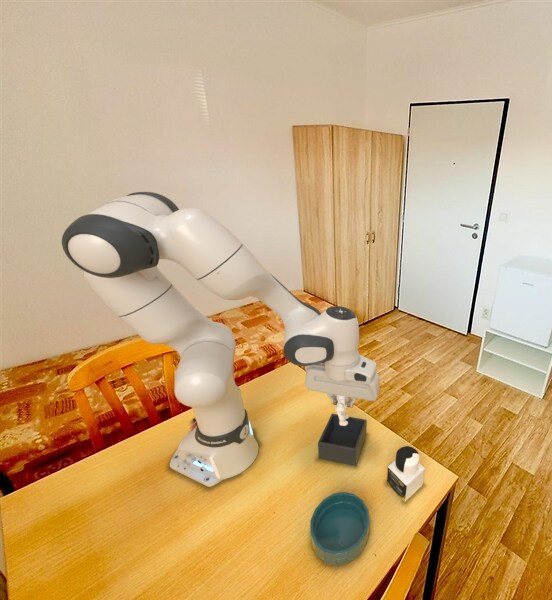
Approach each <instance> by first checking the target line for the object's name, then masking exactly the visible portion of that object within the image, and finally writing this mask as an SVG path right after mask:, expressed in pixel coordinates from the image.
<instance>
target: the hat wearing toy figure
mask: <svg viewBox="0 0 552 600" xmlns="http://www.w3.org/2000/svg"><path fill="white" fill-rule="evenodd" d="M335 396H337V401H338V402H337V405H335V406H334V407H335V409H334V412H336V414H338V416H339V420H340V421H339V425H341V426H346V425H347V424H348V421H346V420H345V419H348V418H349V417H350V415H349V414H347V413H348V411H347V402H348V400H349V399H350V398H349V397H346V396H340V395H335Z"/></svg>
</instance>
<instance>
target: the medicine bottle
mask: <svg viewBox="0 0 552 600" xmlns="http://www.w3.org/2000/svg"><path fill="white" fill-rule="evenodd" d="M425 472H426V467H424V466H423V465H422V464H421V463H420V454H419V452H418V450H417V449H416V448H414V447H412V446H410V445H405V446H401V447H400V448H399V449H398V450H397V451H396V453H395V460H393V461H392V462H391V463H389V464H388V466H387V475H386V484H387V485H388V486H389V487H390V488H391V489H392V491H393V492H394V493H395V494H396V495H397V496H398V497H399V498H400V499H401V500H402V501H403V502H404V503H406V502H407V501H408V500H409V499H410V498H411V497H412V496H413V495H414V494H415V493H416V492H417V491H418V490H419V489H420V488H422V486H423V484H424V478H425Z"/></svg>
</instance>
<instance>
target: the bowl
mask: <svg viewBox="0 0 552 600" xmlns="http://www.w3.org/2000/svg"><path fill="white" fill-rule="evenodd" d="M370 522H371V519H370V512H369V508H368V506H367V505H366V503H365V501H364V500H363V499H362V498H361V497H359V496H358V495H357V494H355V493H351V492H348V491H347V492H346V491H341V492H334V493H332V494H330V495H328V496H327V497H325V498H323V499H322V501H321V502H320V503H319V504H317V506H316V507H315V508H314V510H313V513H312V516H311V518H310V526H309V527H310V528H309V533H310V541H311V542H310V544H311V547H312V549H313V551H314V555H315V556H316V557H317V558H318V559H319V560H321V561H322V562H323V563H324V564H327V565H331V566H337V567H338V566H342V565H346V564H349V563H351V562H352V561H353V560H355V559H357V558H358V557H359V556H360V555H361V553H362V552H363V550H364V549H365V548H366V546H367V543H368V539H369V534H370V525H371V523H370Z"/></svg>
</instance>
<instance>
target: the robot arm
mask: <svg viewBox="0 0 552 600" xmlns="http://www.w3.org/2000/svg"><path fill="white" fill-rule="evenodd" d="M61 246H62V250H63V252H64V254H65V255H66V257H67V258H68V260H70V261H71V263H72V264H73V265H75V266H76V267H77V268H78V269H80V270H82V271H83V278H84V279H85V281H86V282H87V284H88V285H89V286H90V288H91V289H92V290H93V292H94V293H95V294H96V296H97V297H98V298H99V299H100V300H101V301H102V302H103V304H105V305H106V306H107V307H108V309H110V311H112V312H113V314H114V315H116V316H117V317H118V318H119V319H120V320H122V322H123V323H125V324H126V325H127V326H128V327H129V328H130V329H131V330H132V331H134V332H135V333H136V334H137V335H138V336H139V337H140V338H141V339H143V340H144V341H145V342H146V343H148V344H151V345H165V346H167V347H169V348H171V349H173V350H174V351H175V352H176V353H177V354H178V355H179V358H180V359H179V363H178V365H177V368H176V370H175V373H174V382H173V383H174V384H173V386H174V387H173V390H174V391H173V392H174V396H175V398H176V400H177V401H178V402H179V403H181V404H182V405H184V406H186V407H190V408H191V410H192V411H193V415H194V417H195V418H192V422H193V424H192V425H191V426H190V427H189V431H188V432H187V433H186V434H185V435H184V437H183V438H182V439H181V440H180V442H179V444H178V446H177V449H176V451H175V452H174V453H173V455H172V456H171V459H170V461H169V468H170V469H172V470H174V471H175V472H176V473H179V474H180V475H183V476H185V477H187V478H189V479H192V481H195V482H197V483H199V484H201V485H204V486H205V487H208V488H212V487H214V486H216V485H217V484H218V483H220V482H222V481H224V480H227V479H230V478H233V477H235V476H238V475H240V474H241V473H244V471H246V470H248V468H250V466H251V465H252V464H253V463H254V462H255V460H256V458H257V457H258V454H259V449H260V447H259V443H258V441H257V440H256V437H255V435H254V430H253V428H252V426H251V422H250V420H249V416H248V415H249V414H248V412H247V410H246V408H245V404H244V400H243V399H244V398H243V395H242V390H241V388H240V387H239V386H237V384H236V381H235V375H234V369H235V368H234V365H235V354H236V347H237V344H236V339H235V335H234V333H233V330H232V329H231V327H229V326H228V325H227V324H224V323H222V322H218V321H213V320H212V319H210V318H208V317H207V316H206V315H205V314H203V313H201V312H200V311H199V310H198V309H196V307H195V306H194V305H193V304H192V303H190V302H189V300H188V299H187V298H186V297H185V296H184V295H183V293H181V291H179V289H178V288H176V286H175V285H174V284H173V283H172V282H171V281H170V279H168V278H167V276H166V275H164V274H163V272H161V270H160V269H159V268H158V264H159V262H160V260H166V261H167V260H168V261H171V262H174V263H176V264H177V265H179V266H181V267H182V268H183V269H184V270H185V271H186V272H187V273H188V274H190V275H191V276H192V277H193V278H194V279H195V280H196V281H198V282H199V284H200V285H202V287H204V288H205V289H206V290H208V291H209V292H211V293H212V294H214V295H216V296H217V297H219V298H220V299H223V300H227V301H239V300H244V299H247V298H255V299H257V300H259V301H261V303H263V304H264V305H265V306H266V307H267V308H269V309H270V310H271V311H272V312H273V313H275V314H276V315H277V316H278V317H279V318H280V319H281V321H282V324H283V327H284V334H283V335H284V336H283V351H282V352H283V355H284V357H285V359H286V360H287V361H288V362H289V363H291V364H292V365H295V366H298V367H304V371H305V372H306V373H305V379H304V384H305V385H304V386H305V389H307V390H308V391H311V392H318V393H322V394H327V397H328V398H329V400H330V402H331V405H333V406H337V402H338V401H337V396H336V395H340V396H346V397H348V399H349V400H348V402H347V405H346V408H349V409H350V408H351V409H353V408H354V405H355V402H356V401H357V400H362V401H363V400H364V401H369V402H375V401H377V400H378V399H379V395H380V391H381V383H380V376H379V373H378V372H377V361H374V360H373V359H370V358H368V357H365V356H364V355H363V354H361V353H360V352H359V345H360V327H359V321H358V316H357V315H356V313H355V312H354V311H353V310H351V309H350V308H348V307H345V306H341V305H334V306H329V307H327V308H326V309H325V311H323V312H321V311H320V310H319V309H318V308H316V307H315V306H313V305H311V304H308V303H306V302H304V301H302V300H301V299H299V298H298V297H296V296H295V295H294V294H293V293H292V292H291V291H290V290H289V289H288V288H287V287H286V286H284V285H283V284H282V283H281V282H280V281H279V280H278V279H277V278H276V277H275V276H274V275H272V274H271V273H270V272H269V270H268V269H266V267H265V266H264V265H263V264H262V263H261V262H260V261H259V260H258V258H257V257H256V256H254V254H253V253H252V252H251V251H250V250H249V249H248V248H247V246H245V244H244V243H242V241H241V240H240V239H239V238H238V237H237V236H236V235H234V233H232V232H231V231H230V230H229V228H227V227H225V226H224V225H223V224H222V223H221V222H220V221H218V220H217V219H216V218H214V217H213V216H212V215H210V214H209V213H208V212H206V211H205V210H203V209H201V208H197V207H185V208H179V207H178V206H177V205H176V203H174V201H173V200H171V199H170V198H168V197H167V196H165V195H163V194H160V193H157V192H152V191H137V192H132V193H129V194H126V195H125V196H122V197H117V198H115V199H112V200H110V201H107V202H105V203H103V204H101V205H100V206H99V207H97V208H96V209H94V210H92V211H91V212H89V213H87V214H85V215H82V216H80V217H78V218H76V219H74V221H73V222H71V223H70V224H69V225H68V226H67V228H66V229H65V230H64V232H63V234H62V237H61Z"/></svg>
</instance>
